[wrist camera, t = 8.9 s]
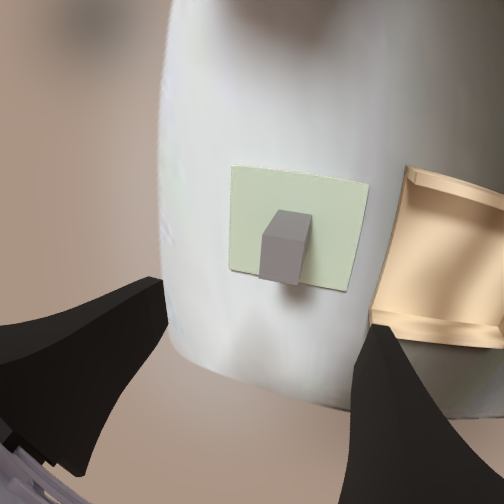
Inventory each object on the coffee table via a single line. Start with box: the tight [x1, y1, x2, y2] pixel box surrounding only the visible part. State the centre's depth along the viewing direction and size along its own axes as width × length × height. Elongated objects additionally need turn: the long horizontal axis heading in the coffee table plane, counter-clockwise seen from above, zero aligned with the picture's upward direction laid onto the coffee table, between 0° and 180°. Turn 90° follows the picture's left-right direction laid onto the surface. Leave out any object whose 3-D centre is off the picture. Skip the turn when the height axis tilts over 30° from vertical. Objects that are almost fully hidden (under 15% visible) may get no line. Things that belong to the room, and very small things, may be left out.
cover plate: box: [228, 165, 369, 291], centre depth 16 cm, size 8×7×5 cm
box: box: [369, 165, 504, 349], centre depth 14 cm, size 12×10×2 cm
